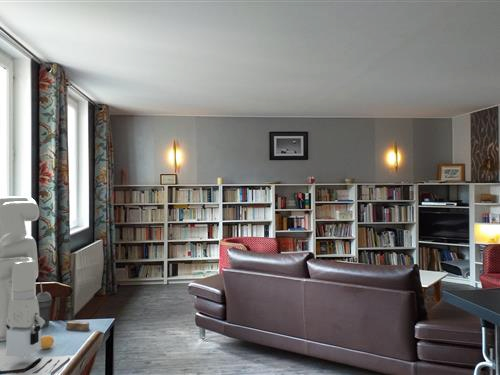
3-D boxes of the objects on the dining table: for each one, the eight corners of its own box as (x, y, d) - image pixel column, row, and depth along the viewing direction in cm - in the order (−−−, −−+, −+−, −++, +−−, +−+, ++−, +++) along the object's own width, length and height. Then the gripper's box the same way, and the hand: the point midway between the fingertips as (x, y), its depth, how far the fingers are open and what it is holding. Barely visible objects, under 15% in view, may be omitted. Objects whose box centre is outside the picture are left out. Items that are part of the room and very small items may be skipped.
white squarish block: (6, 355, 136) (6, 330, 136) (23, 347, 144) (23, 323, 144) (24, 357, 135) (24, 332, 135) (40, 348, 142) (41, 324, 142)
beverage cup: (44, 328, 172) (44, 284, 172) (30, 327, 174) (30, 283, 174) (55, 323, 179) (55, 280, 179) (42, 322, 181) (41, 280, 181)
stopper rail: (66, 329, 171) (66, 322, 171) (69, 327, 173) (69, 321, 173) (86, 330, 169) (86, 324, 169) (89, 329, 171) (89, 322, 171)
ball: (36, 350, 149) (36, 337, 149) (45, 345, 154) (45, 332, 154) (47, 351, 148) (47, 338, 148) (56, 346, 153) (56, 333, 153)
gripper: (-5, 296, 138) (-5, 345, 137) (36, 298, 134) (37, 348, 134) (12, 291, 145) (12, 337, 145) (52, 292, 142) (52, 340, 141)
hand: (24, 342), depth 139 cm, fingers closed on white squarish block, 7 cm apart
